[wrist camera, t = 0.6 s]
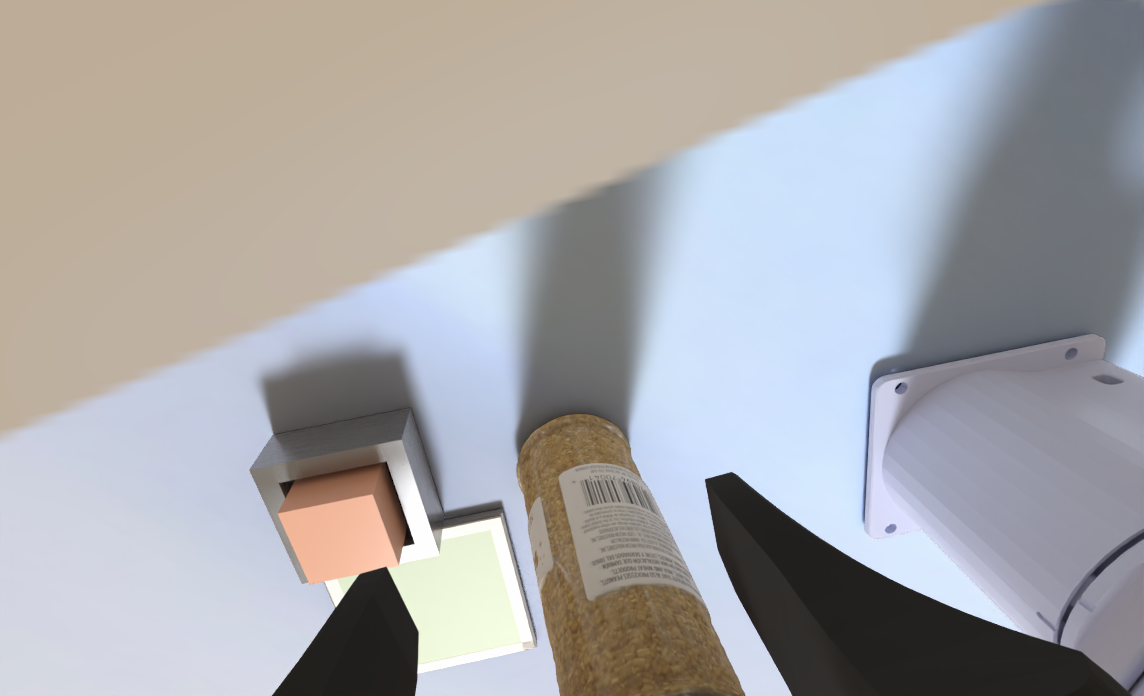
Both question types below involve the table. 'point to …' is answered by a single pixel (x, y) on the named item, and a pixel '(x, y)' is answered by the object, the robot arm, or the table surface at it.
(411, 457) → the button housing
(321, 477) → the button
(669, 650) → the sprinkles bottle
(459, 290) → the table surface
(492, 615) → the picture board
